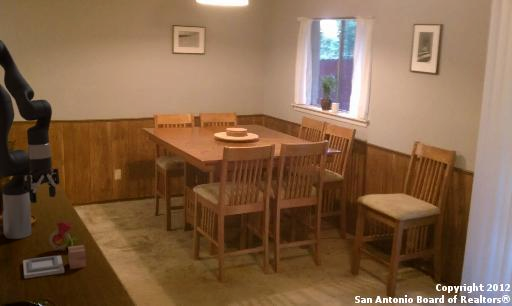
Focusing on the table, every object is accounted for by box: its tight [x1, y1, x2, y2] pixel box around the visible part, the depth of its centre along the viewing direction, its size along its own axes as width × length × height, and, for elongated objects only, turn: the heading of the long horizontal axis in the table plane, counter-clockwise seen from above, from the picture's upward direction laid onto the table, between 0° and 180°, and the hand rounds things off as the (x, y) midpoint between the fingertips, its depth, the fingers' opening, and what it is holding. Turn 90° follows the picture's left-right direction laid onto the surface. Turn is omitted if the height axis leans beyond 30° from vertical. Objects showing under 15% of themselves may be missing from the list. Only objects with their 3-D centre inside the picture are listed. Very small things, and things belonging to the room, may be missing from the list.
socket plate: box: [22, 255, 65, 279], centre depth 170 cm, size 12×12×2 cm
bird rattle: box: [48, 221, 78, 251], centre depth 184 cm, size 6×11×9 cm
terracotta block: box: [67, 244, 87, 270], centre depth 173 cm, size 5×5×6 cm
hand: (43, 199), depth 186 cm, fingers open, 8 cm apart
